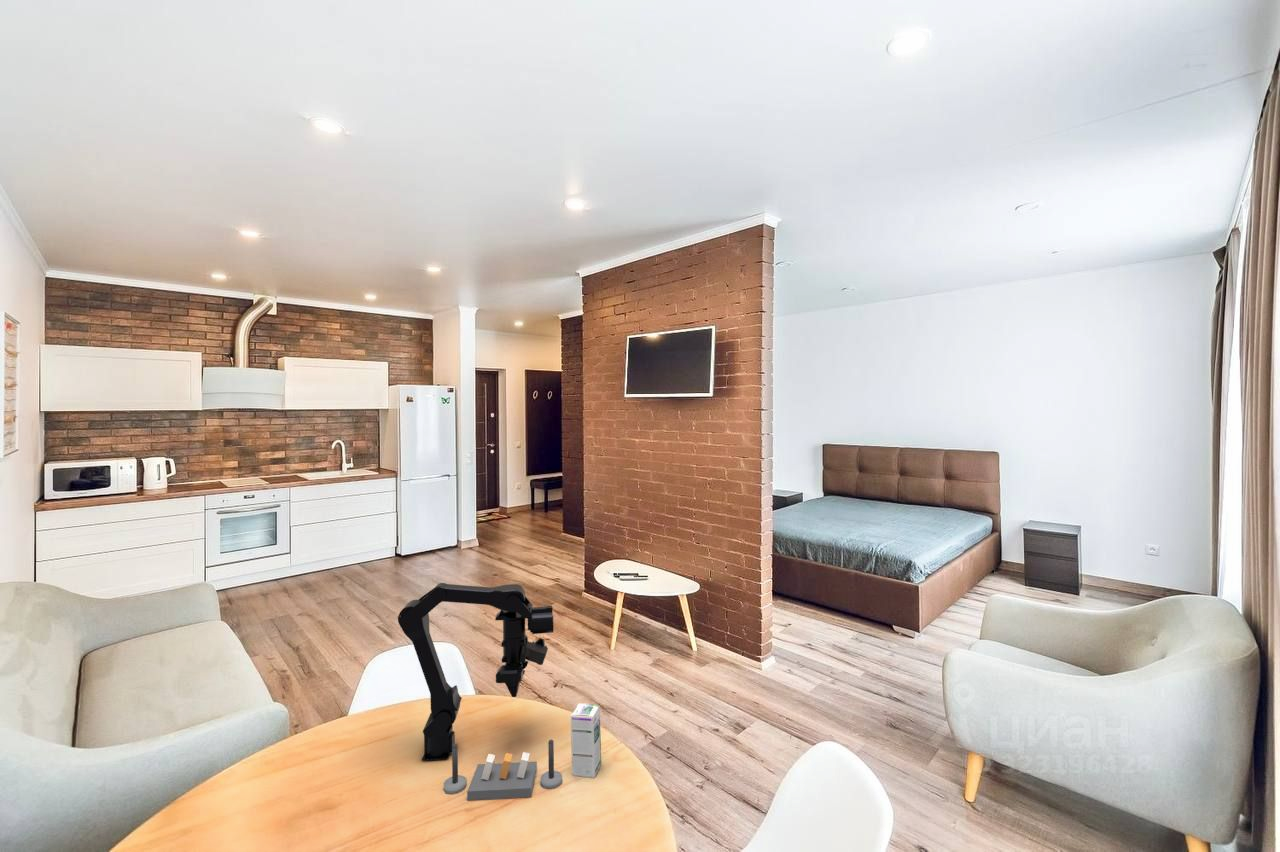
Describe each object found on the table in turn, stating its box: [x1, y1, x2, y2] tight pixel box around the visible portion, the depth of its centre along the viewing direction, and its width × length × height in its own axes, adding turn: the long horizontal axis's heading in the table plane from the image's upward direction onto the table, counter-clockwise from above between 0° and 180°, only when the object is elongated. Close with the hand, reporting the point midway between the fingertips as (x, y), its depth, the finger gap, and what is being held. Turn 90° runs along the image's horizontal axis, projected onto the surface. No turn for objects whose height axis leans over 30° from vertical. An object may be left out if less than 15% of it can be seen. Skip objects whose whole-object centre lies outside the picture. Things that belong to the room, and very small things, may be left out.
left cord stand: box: [443, 743, 468, 795], centre depth 125 cm, size 5×5×10 cm
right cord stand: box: [539, 738, 563, 790], centre depth 126 cm, size 5×5×10 cm
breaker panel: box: [466, 760, 538, 802], centre depth 125 cm, size 14×10×2 cm
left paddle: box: [481, 753, 496, 780], centre depth 125 cm, size 2×3×4 cm, turn 3°
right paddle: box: [517, 751, 531, 778], centre depth 126 cm, size 2×3×4 cm, turn 3°
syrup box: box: [570, 703, 602, 779], centre depth 131 cm, size 6×6×14 cm
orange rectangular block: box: [499, 752, 513, 779], centre depth 125 cm, size 2×3×4 cm, turn 3°
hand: (514, 695), depth 142 cm, fingers closed
